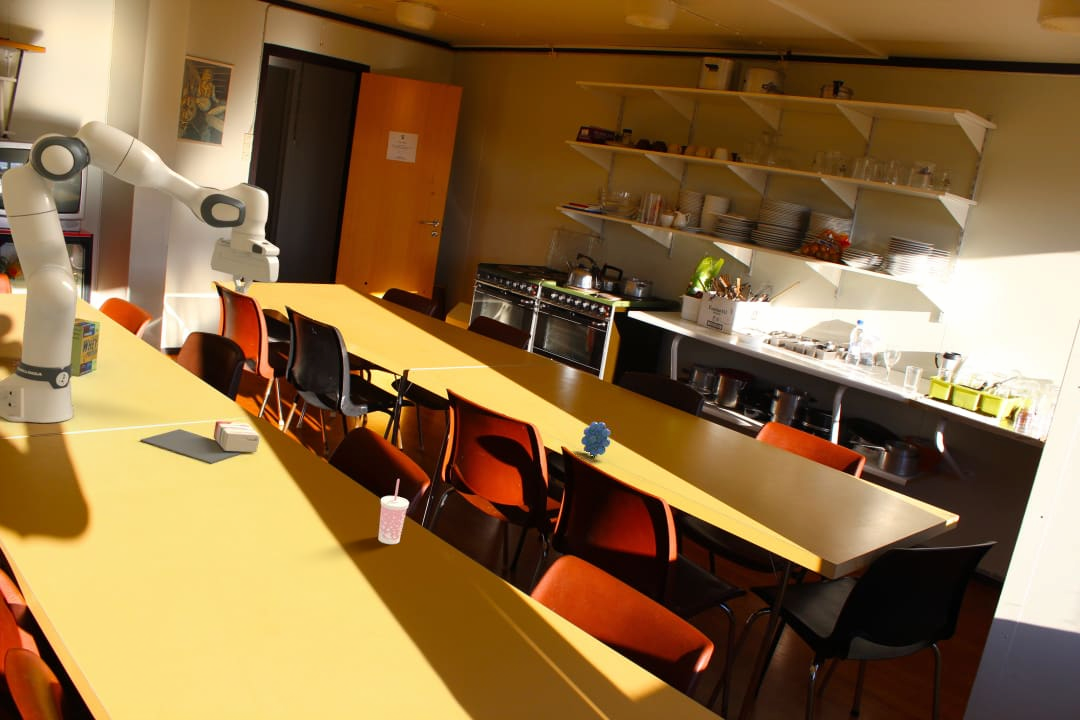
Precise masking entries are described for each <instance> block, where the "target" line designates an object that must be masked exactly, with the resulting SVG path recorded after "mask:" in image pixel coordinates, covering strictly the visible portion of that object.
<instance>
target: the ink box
mask: <svg viewBox="0 0 1080 720" xmlns="http://www.w3.org/2000/svg"><path fill="white" fill-rule="evenodd" d="M213 433H214V434H213V440H216V441H217V442H218V443H219V445H220V446H221V447H222V448H223V449H224V450H225V451H240V452H246V453H257V452H258V447H259V443H260V434H259V433H257V431H255V429H254V428H253V427H252V426H250V424H249V423H248V422H234V421H220V420H219V421H218V420H217V421H216V422H215V427H214V430H213Z"/></svg>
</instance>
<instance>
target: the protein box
mask: <svg viewBox="0 0 1080 720" xmlns="http://www.w3.org/2000/svg"><path fill="white" fill-rule="evenodd" d="M100 328H101V321H100V322H99V321H97V320H95V321H94V320H88V319H83V318H79V317H78V318H77V317H75V322H74V329H73V337H72V349H71V361H70V362H71V363H72V374H71V376H74V377H81V376H84V375H87V374H89V373H91V372H95V371H97V364H98V362H97V361H98V353H99V352H98V349H99V340H100V331H101V330H100Z"/></svg>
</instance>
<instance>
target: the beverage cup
mask: <svg viewBox="0 0 1080 720" xmlns="http://www.w3.org/2000/svg"><path fill="white" fill-rule="evenodd" d="M399 485H400V478H397V480H396V485H395V491H394V492H395V493H394V495H386V496H383V497H381V499H380V505H381V508H380V517H379V528H378V541H379V542H381V543H383V544H387V545H396V544H398V543H400V541H401V540H400V539H401V535H402V531H403V527H404V522H405V518H406V513H407V510H408V508H409V505H410V501H409V500H408V499H406V498H404V497H400V496H398V493H399Z"/></svg>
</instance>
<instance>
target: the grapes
mask: <svg viewBox="0 0 1080 720" xmlns="http://www.w3.org/2000/svg"><path fill="white" fill-rule="evenodd" d="M583 435H584V436H583V437H582V438H581V441H580V442H581V444H582V445H583V446H584V447H583V452H584V451H586V452H590V453H589V455H590V456H591V455H593V456H596V457H597V456H598V455H599V456H602V455H604V454H605V452H606V450H607V449H606V448H608V447H609V446H610V445H611V440H610V439H609V437H610V435H611V430H610V429H609V428H606V424H605V422H603V421H602V422H601V421H600V422H599V423H598V422H597V421H592V422H591V423H590V424H589V427H585V428H584V429H583Z"/></svg>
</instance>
